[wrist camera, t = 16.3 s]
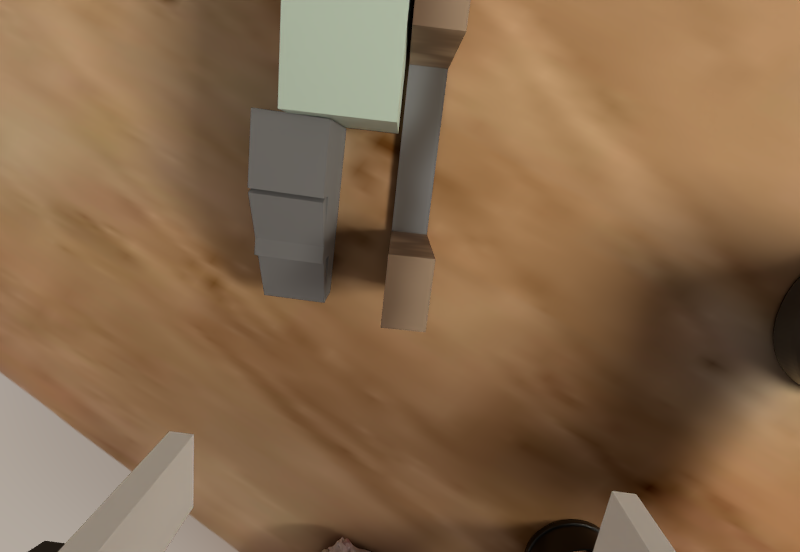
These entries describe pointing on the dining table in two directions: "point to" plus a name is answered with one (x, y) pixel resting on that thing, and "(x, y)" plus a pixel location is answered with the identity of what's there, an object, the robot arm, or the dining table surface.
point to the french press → (564, 537)
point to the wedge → (295, 200)
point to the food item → (344, 547)
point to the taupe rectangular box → (420, 162)
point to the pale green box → (344, 60)
